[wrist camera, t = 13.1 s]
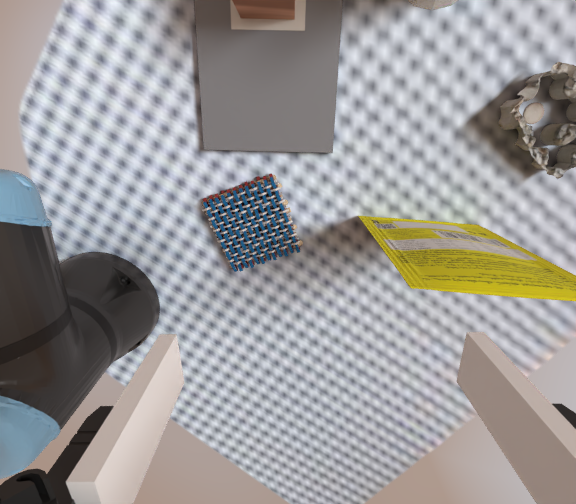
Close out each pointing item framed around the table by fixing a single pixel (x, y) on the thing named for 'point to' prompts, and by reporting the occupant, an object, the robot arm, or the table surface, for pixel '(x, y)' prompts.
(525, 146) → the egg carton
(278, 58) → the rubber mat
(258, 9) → the maple block
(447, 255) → the food package
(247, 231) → the woven mat
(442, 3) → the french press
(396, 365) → the table surface
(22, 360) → the robot arm
